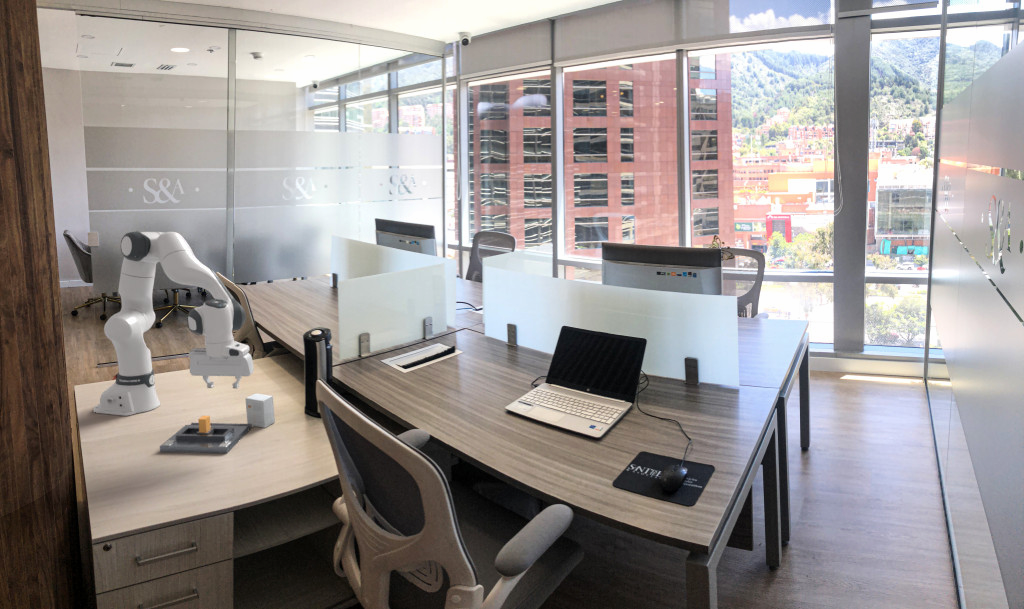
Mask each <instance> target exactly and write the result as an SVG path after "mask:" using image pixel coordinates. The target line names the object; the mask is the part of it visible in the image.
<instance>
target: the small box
mask: <svg viewBox="0 0 1024 609" xmlns="http://www.w3.org/2000/svg"><path fill="white" fill-rule="evenodd" d="M245 407H246V408H245V409H246V410H245V411H246V422H247V423H246V424H252V427H259V428H263V429H265V428H267V427H269V426H271V425H272V424H275V422H276V420H275V419H276V418H275V404H274V396H273V395H269V394H261V393H253V394H251V395H248V396H247V397H245Z"/></svg>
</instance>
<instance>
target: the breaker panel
mask: <svg viewBox="0 0 1024 609" xmlns="http://www.w3.org/2000/svg"><path fill="white" fill-rule="evenodd" d="M210 426H211V428H214V433H213V434H212V435H203V434H196V433H197V432H198V431H199V425H191V424H185V425H184V426H183V427H181V428H180V429H179V430H178V431H176V432H175V433H174V434H173V435H172V436H171V437H169V438H168V439H167V440H165V442H163V443H162V444H161V445H159V452H160V453H193V454H194V453H195V454H198V453H199V454H228V453H229V452H230V451H231V450H232V449H233V448H234V447H235V446H236V445H237V444H238V443H239V442H240V441H241V440H242V439H243V437H244V436H246V434H248V432H249V430H248V426H217V425H210ZM239 440H240V441H239Z"/></svg>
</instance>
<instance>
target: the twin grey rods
mask: <svg viewBox="0 0 1024 609" xmlns="http://www.w3.org/2000/svg"><path fill="white" fill-rule="evenodd" d="M190 425H199V422H191V423H190ZM210 425H217V426H248V431H249V430H251V428H253V426H252V424H247V423H233V422H232V423H231V422H230V423H228V422H227V423H226V422H225V423H224V422H223V423H222V422H221V423H218V422H210Z"/></svg>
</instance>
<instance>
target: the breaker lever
mask: <svg viewBox="0 0 1024 609" xmlns="http://www.w3.org/2000/svg"><path fill="white" fill-rule="evenodd" d="M210 416H211V415H201V416H200V417H199V418H198V423H199V431H198V432H197V433H196V434H203V435H212V434H213V433H214V428H211V426H210V423H211V417H210Z"/></svg>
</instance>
